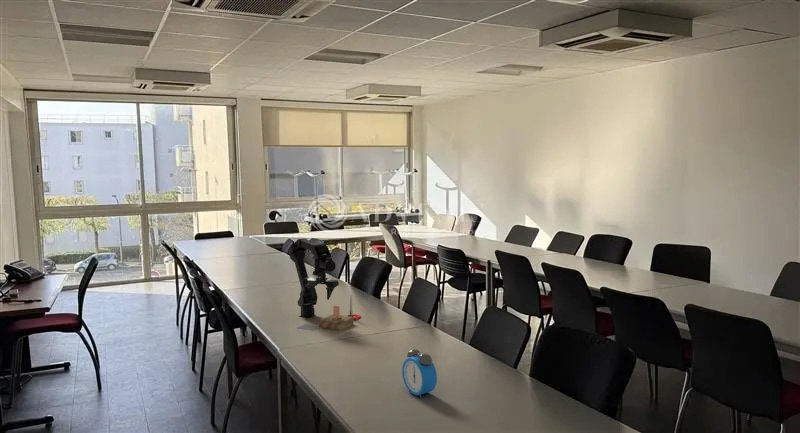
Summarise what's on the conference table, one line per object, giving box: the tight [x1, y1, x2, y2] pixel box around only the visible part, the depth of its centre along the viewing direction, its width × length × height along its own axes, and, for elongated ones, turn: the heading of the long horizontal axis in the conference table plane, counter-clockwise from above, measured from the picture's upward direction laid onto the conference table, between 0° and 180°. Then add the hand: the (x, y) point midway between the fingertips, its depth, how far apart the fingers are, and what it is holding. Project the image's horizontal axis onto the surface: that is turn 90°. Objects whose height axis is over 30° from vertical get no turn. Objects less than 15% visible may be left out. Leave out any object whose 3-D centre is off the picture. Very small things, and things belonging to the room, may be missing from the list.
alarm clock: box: [401, 348, 438, 398], centre depth 201 cm, size 13×6×15 cm, turn 35°
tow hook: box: [345, 294, 362, 321], centre depth 300 cm, size 8×13×9 cm
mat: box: [296, 323, 320, 332], centre depth 283 cm, size 10×8×1 cm
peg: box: [332, 305, 340, 320], centre depth 285 cm, size 3×3×10 cm
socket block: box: [319, 314, 354, 331], centre depth 285 cm, size 12×12×4 cm
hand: (320, 298), depth 292 cm, fingers open, 9 cm apart
